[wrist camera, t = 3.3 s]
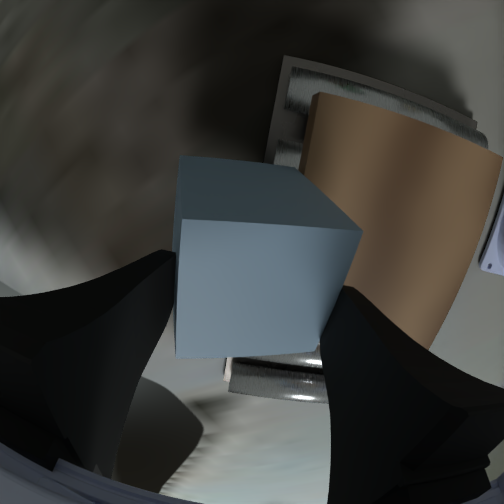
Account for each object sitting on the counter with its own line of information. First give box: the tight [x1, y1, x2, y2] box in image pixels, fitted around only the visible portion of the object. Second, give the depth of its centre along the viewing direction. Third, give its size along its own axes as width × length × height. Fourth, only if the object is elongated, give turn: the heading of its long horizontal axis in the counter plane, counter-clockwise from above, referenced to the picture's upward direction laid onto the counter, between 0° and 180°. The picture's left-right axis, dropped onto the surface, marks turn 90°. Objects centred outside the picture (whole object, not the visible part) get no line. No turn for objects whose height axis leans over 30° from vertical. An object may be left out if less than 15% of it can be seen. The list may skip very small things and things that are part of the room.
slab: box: [298, 92, 503, 350], centre depth 15 cm, size 10×12×2 cm
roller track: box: [223, 55, 488, 404], centre depth 19 cm, size 13×24×3 cm, turn 170°
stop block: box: [172, 155, 363, 358], centre depth 12 cm, size 5×5×6 cm
